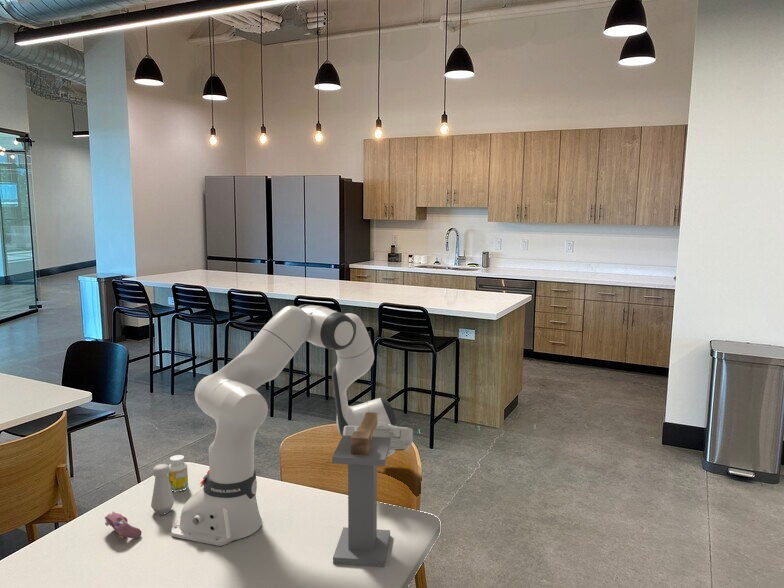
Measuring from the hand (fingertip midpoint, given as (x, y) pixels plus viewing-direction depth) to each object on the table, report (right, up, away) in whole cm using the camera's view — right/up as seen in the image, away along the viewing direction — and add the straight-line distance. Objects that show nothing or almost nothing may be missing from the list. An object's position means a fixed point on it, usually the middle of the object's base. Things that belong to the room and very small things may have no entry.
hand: (375, 430), depth 158 cm
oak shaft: (-2, +3, -19) cm, 19 cm away
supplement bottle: (-59, -20, +10) cm, 63 cm away
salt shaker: (-58, -21, -3) cm, 62 cm away
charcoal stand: (-3, -24, -20) cm, 32 cm away
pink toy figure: (-64, -23, -15) cm, 69 cm away
